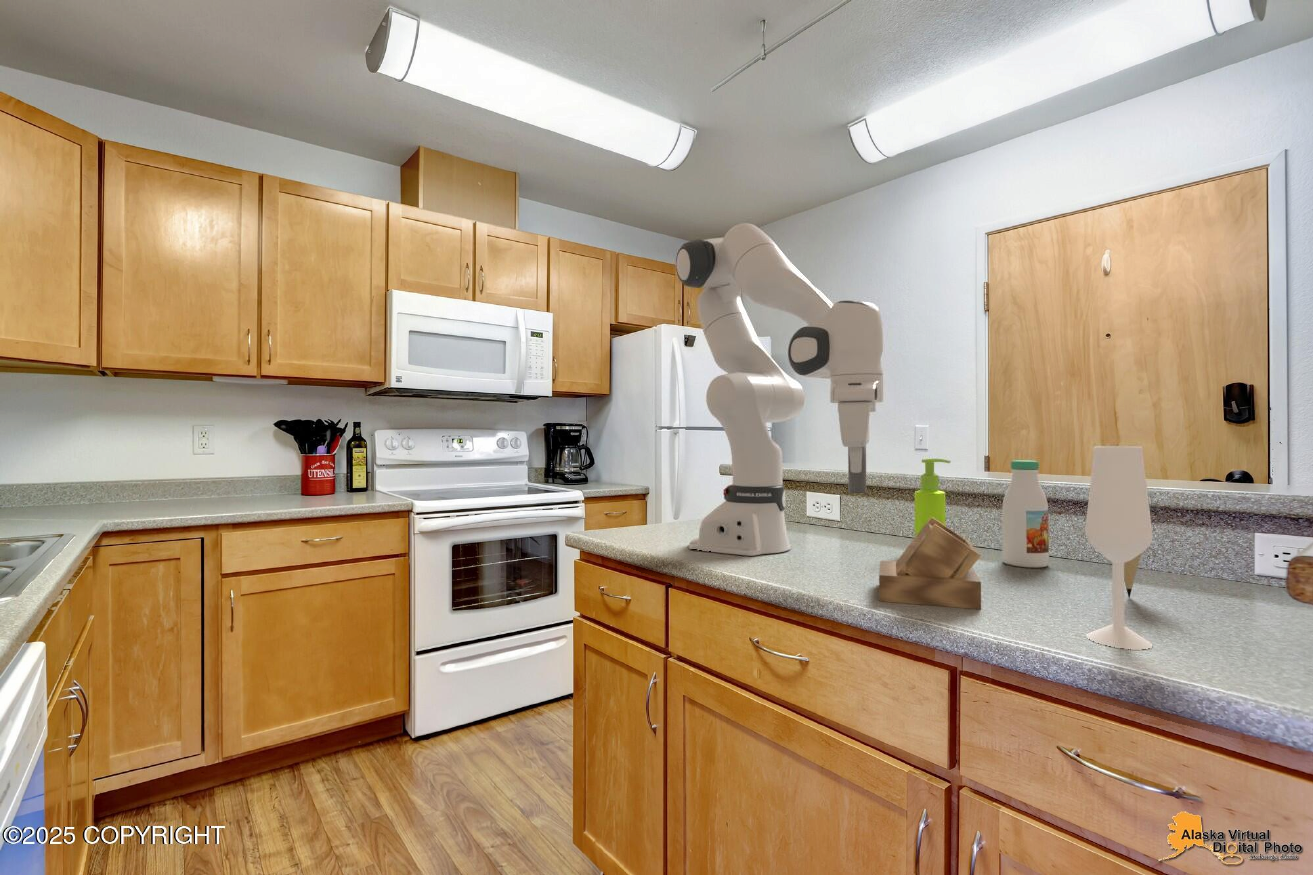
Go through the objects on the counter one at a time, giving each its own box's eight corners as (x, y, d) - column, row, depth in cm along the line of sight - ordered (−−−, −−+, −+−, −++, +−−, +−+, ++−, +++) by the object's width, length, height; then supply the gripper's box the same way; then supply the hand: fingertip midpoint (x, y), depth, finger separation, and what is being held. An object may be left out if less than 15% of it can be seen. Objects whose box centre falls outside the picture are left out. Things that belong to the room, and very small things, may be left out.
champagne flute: (1093, 628, 82) (1093, 445, 81) (1158, 640, 77) (1158, 446, 76) (1078, 640, 77) (1077, 447, 77) (1146, 654, 72) (1145, 447, 72)
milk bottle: (1009, 567, 117) (1008, 461, 117) (997, 559, 125) (996, 459, 124) (1055, 569, 115) (1055, 461, 115) (1040, 560, 123) (1039, 459, 122)
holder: (879, 601, 96) (878, 523, 96) (880, 584, 106) (879, 513, 106) (982, 609, 91) (981, 527, 91) (972, 590, 101) (972, 517, 101)
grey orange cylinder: (847, 492, 108) (847, 435, 108) (848, 491, 111) (848, 435, 111) (866, 493, 107) (866, 435, 107) (866, 491, 110) (866, 435, 110)
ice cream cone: (1097, 595, 97) (1096, 499, 97) (1121, 591, 99) (1121, 497, 99) (1136, 604, 92) (1136, 503, 92) (1161, 600, 94) (1161, 501, 94)
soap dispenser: (954, 557, 127) (953, 459, 126) (918, 556, 128) (917, 459, 128) (946, 552, 132) (946, 458, 132) (912, 551, 134) (911, 458, 133)
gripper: (841, 395, 120) (842, 467, 120) (833, 390, 101) (833, 475, 101) (876, 395, 118) (876, 468, 118) (874, 389, 99) (874, 476, 99)
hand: (856, 471), depth 109 cm, fingers closed on grey orange cylinder, 3 cm apart
